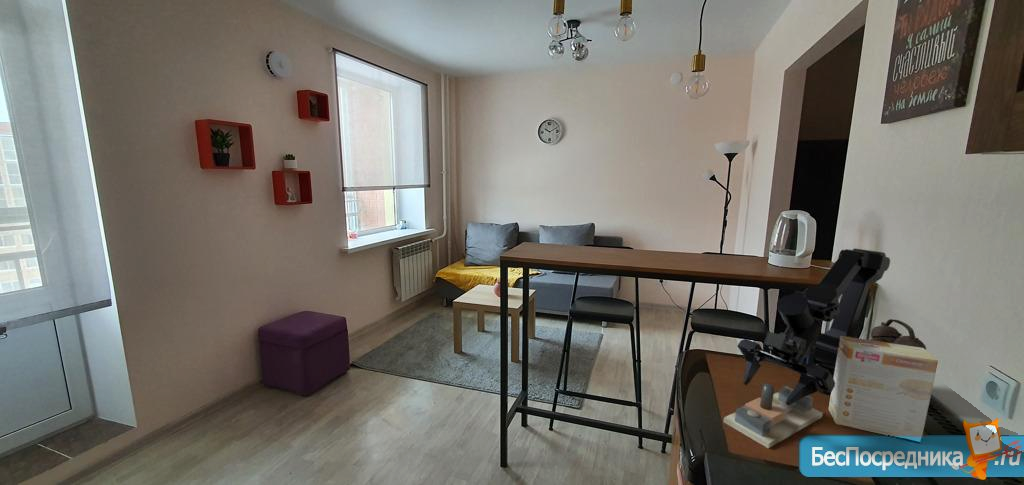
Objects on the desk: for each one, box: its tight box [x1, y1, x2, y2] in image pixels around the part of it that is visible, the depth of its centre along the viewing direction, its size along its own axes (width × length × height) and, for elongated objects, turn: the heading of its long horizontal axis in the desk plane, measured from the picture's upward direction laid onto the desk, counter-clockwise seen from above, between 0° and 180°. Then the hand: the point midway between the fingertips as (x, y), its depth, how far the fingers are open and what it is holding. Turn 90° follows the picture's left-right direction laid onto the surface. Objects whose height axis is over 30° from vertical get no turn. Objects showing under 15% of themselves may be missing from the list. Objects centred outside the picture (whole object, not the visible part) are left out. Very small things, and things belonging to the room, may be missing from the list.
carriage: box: [744, 382, 787, 426], centre depth 90 cm, size 6×6×7 cm
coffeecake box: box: [828, 336, 939, 438], centre depth 89 cm, size 15×7×20 cm, turn 64°
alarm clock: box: [870, 318, 927, 350], centre depth 103 cm, size 15×7×20 cm, turn 168°
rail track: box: [723, 385, 824, 449], centre depth 92 cm, size 23×10×4 cm, turn 119°
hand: (765, 393), depth 89 cm, fingers open, 9 cm apart
